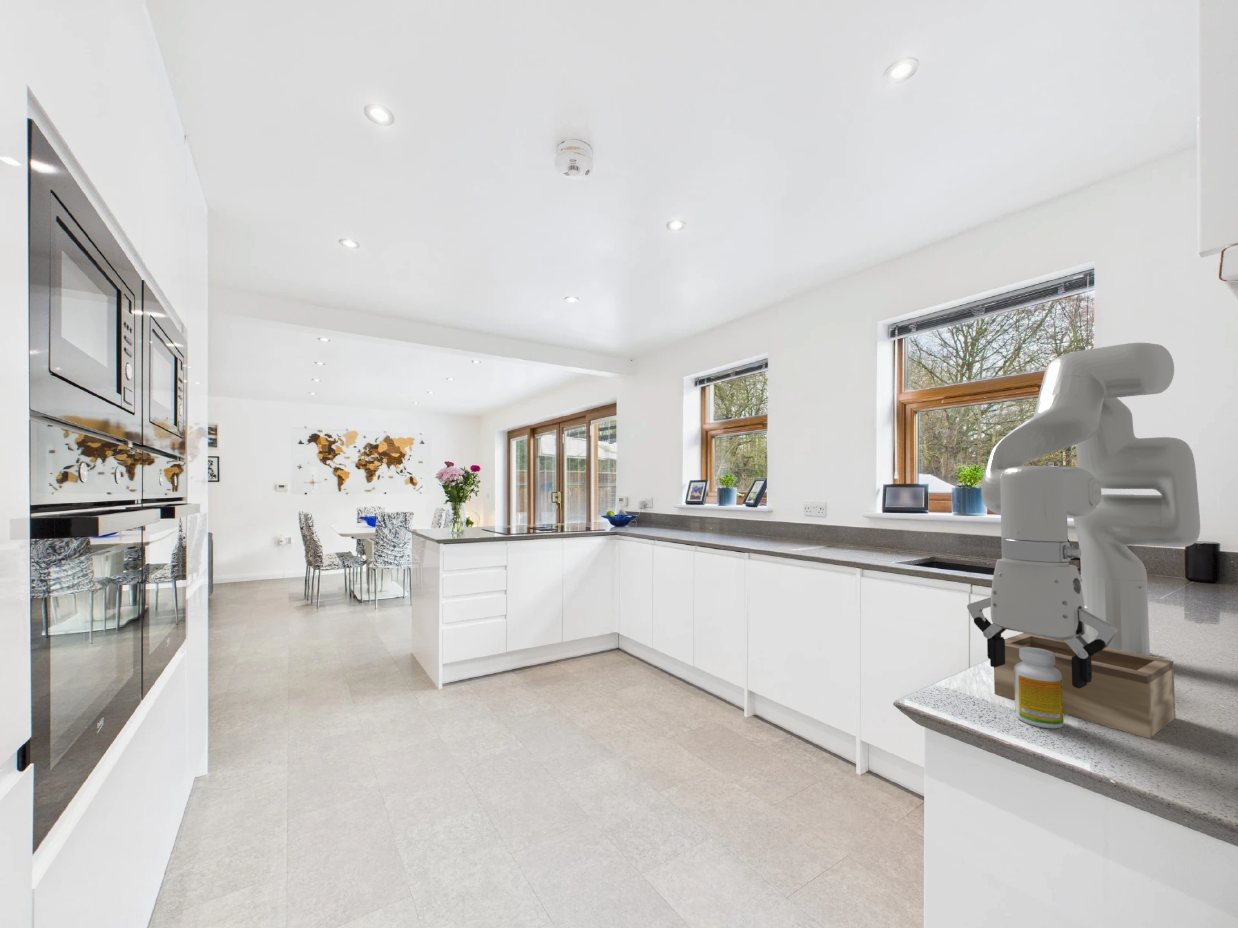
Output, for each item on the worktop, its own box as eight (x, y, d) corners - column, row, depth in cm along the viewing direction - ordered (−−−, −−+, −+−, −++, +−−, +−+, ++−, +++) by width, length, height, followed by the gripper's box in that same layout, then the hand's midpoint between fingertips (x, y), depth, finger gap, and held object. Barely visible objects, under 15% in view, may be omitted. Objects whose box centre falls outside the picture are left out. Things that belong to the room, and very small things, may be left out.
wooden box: (1027, 679, 92) (1025, 632, 92) (1175, 717, 77) (1173, 660, 77) (994, 693, 85) (993, 642, 86) (1149, 738, 70) (1147, 676, 71)
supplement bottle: (1073, 731, 72) (1070, 658, 73) (1027, 727, 73) (1025, 655, 74) (1049, 714, 78) (1047, 646, 78) (1007, 711, 79) (1005, 644, 79)
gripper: (1123, 558, 71) (1127, 690, 70) (979, 546, 86) (981, 655, 85) (1103, 561, 67) (1107, 701, 66) (955, 548, 82) (957, 662, 81)
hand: (1036, 675), depth 75 cm, fingers open, 9 cm apart
